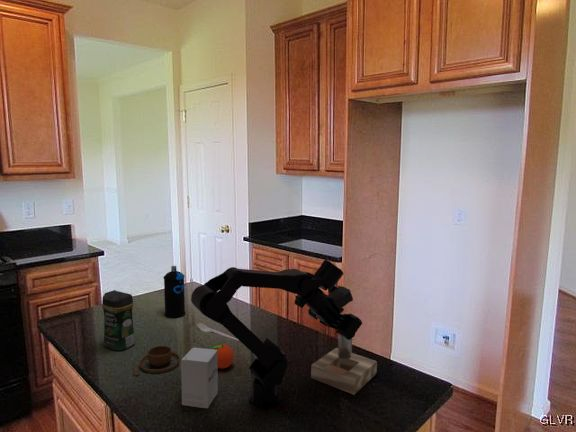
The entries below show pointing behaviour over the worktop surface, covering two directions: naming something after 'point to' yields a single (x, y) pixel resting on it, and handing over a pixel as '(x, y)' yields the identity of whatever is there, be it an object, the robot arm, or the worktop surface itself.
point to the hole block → (344, 371)
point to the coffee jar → (118, 320)
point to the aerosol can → (174, 294)
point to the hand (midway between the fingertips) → (349, 333)
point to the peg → (344, 347)
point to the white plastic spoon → (213, 331)
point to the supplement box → (199, 377)
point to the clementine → (224, 355)
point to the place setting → (158, 359)
